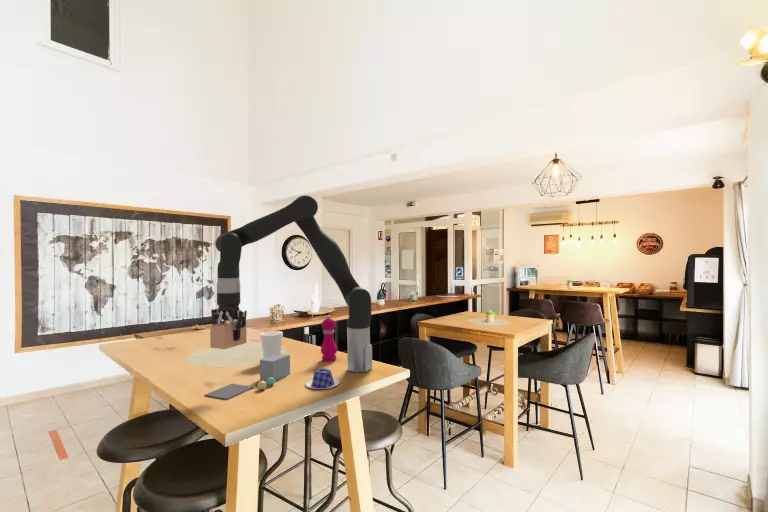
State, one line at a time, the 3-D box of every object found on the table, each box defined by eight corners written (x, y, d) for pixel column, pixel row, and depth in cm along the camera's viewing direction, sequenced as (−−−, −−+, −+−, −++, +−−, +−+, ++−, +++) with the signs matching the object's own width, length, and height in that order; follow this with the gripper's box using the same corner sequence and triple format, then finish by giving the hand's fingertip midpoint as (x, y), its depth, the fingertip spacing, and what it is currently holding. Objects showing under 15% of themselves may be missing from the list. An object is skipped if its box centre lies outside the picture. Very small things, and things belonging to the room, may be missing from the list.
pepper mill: (340, 359, 170) (340, 314, 170) (330, 363, 164) (329, 316, 164) (328, 357, 174) (327, 313, 174) (317, 360, 168) (316, 315, 168)
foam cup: (276, 366, 160) (276, 335, 160) (256, 365, 161) (256, 335, 161) (286, 360, 169) (286, 331, 169) (267, 359, 171) (267, 330, 171)
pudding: (346, 384, 137) (346, 369, 137) (321, 393, 128) (320, 378, 128) (324, 377, 145) (324, 364, 145) (298, 386, 135) (298, 371, 135)
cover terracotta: (246, 342, 133) (246, 321, 133) (224, 349, 124) (224, 326, 124) (233, 341, 136) (233, 320, 136) (210, 347, 127) (210, 325, 127)
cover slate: (290, 373, 149) (289, 354, 149) (273, 381, 140) (273, 361, 140) (277, 372, 152) (277, 353, 152) (260, 379, 142) (259, 359, 142)
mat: (253, 387, 133) (253, 386, 133) (227, 399, 122) (227, 398, 122) (231, 384, 137) (231, 383, 137) (204, 395, 126) (204, 394, 126)
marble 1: (268, 388, 132) (268, 380, 132) (262, 391, 130) (262, 382, 130) (261, 387, 134) (261, 379, 134) (255, 390, 131) (255, 381, 131)
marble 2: (276, 384, 137) (276, 376, 137) (271, 387, 134) (271, 378, 134) (270, 383, 138) (269, 375, 138) (264, 386, 135) (264, 378, 135)
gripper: (252, 290, 131) (253, 339, 131) (221, 289, 136) (221, 336, 136) (236, 292, 124) (236, 343, 124) (204, 291, 129) (204, 340, 129)
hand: (228, 339), depth 130 cm, fingers closed on cover terracotta, 6 cm apart
